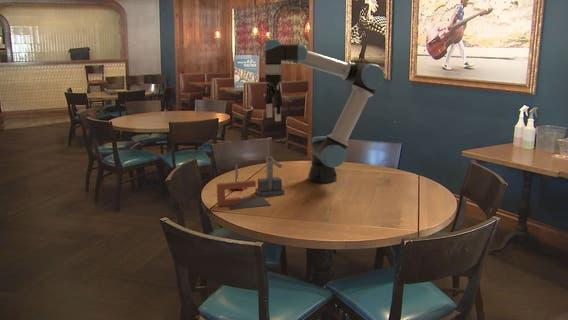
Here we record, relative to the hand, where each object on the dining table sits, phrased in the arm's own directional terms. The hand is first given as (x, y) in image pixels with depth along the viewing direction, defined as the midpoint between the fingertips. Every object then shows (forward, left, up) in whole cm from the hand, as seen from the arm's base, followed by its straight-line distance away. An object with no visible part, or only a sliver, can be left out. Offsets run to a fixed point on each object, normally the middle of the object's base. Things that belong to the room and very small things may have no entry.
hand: (273, 119), depth 233 cm
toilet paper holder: (+4, +12, -35) cm, 37 cm away
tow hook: (+16, -8, -35) cm, 39 cm away
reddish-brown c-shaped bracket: (+14, +17, -30) cm, 37 cm away
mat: (+18, +17, -35) cm, 43 cm away
